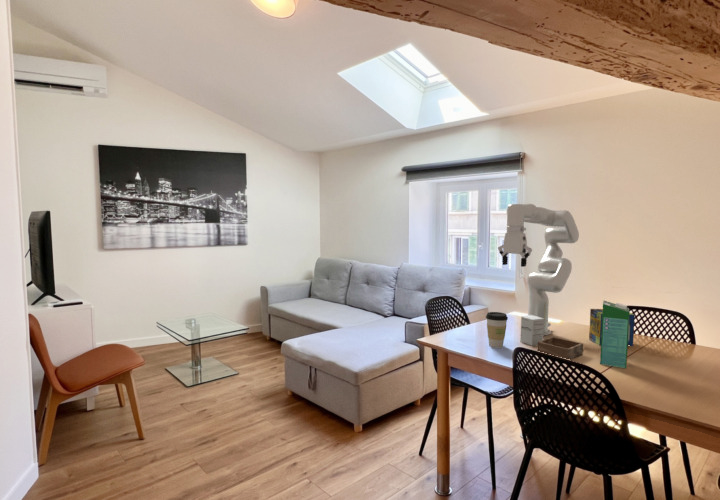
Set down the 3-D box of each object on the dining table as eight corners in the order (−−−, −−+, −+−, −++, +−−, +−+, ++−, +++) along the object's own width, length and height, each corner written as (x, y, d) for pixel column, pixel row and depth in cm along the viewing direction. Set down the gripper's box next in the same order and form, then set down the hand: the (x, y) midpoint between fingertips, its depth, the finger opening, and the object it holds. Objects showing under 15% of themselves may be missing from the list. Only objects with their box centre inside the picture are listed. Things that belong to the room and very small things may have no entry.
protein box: (588, 339, 200) (589, 308, 199) (621, 340, 199) (622, 309, 198) (599, 346, 190) (600, 313, 189) (633, 347, 188) (635, 314, 187)
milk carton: (626, 368, 161) (629, 306, 159) (600, 364, 166) (602, 303, 164) (626, 361, 169) (629, 302, 167) (600, 357, 173) (603, 300, 172)
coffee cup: (508, 349, 184) (509, 317, 183) (486, 348, 186) (486, 315, 185) (505, 343, 194) (506, 312, 193) (483, 341, 196) (484, 311, 195)
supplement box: (519, 341, 196) (520, 316, 195) (531, 340, 199) (532, 314, 198) (531, 346, 189) (532, 319, 188) (543, 344, 192) (544, 318, 191)
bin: (552, 347, 188) (552, 336, 188) (582, 354, 177) (583, 343, 177) (537, 352, 180) (537, 341, 179) (568, 361, 169) (568, 349, 169)
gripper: (536, 230, 190) (535, 266, 191) (503, 229, 203) (502, 263, 204) (527, 230, 185) (526, 267, 186) (494, 229, 199) (493, 264, 200)
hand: (514, 265), depth 195 cm, fingers open, 9 cm apart
